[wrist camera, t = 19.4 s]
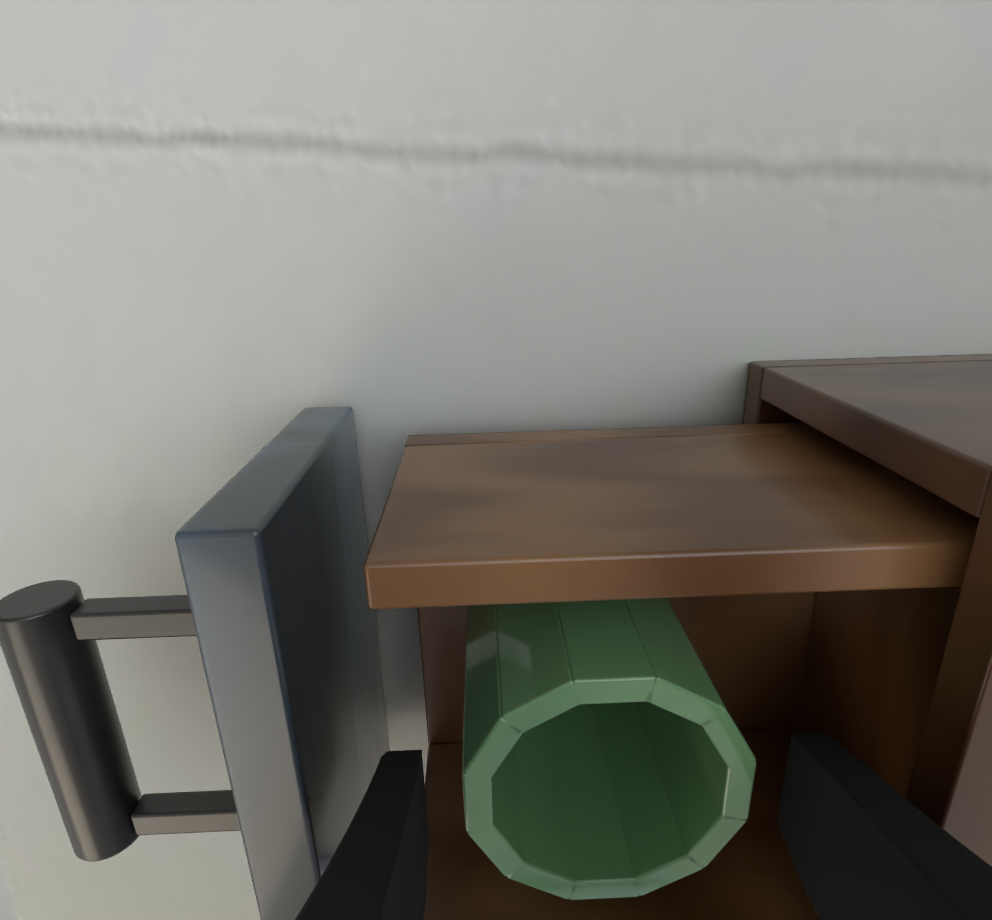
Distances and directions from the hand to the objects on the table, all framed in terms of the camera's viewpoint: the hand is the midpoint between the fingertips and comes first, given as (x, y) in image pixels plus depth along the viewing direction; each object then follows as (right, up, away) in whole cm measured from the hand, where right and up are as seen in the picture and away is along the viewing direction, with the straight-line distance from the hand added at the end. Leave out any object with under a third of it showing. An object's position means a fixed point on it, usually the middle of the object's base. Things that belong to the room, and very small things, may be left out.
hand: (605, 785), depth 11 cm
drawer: (-2, +2, +6) cm, 7 cm away
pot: (0, +2, +5) cm, 5 cm away
